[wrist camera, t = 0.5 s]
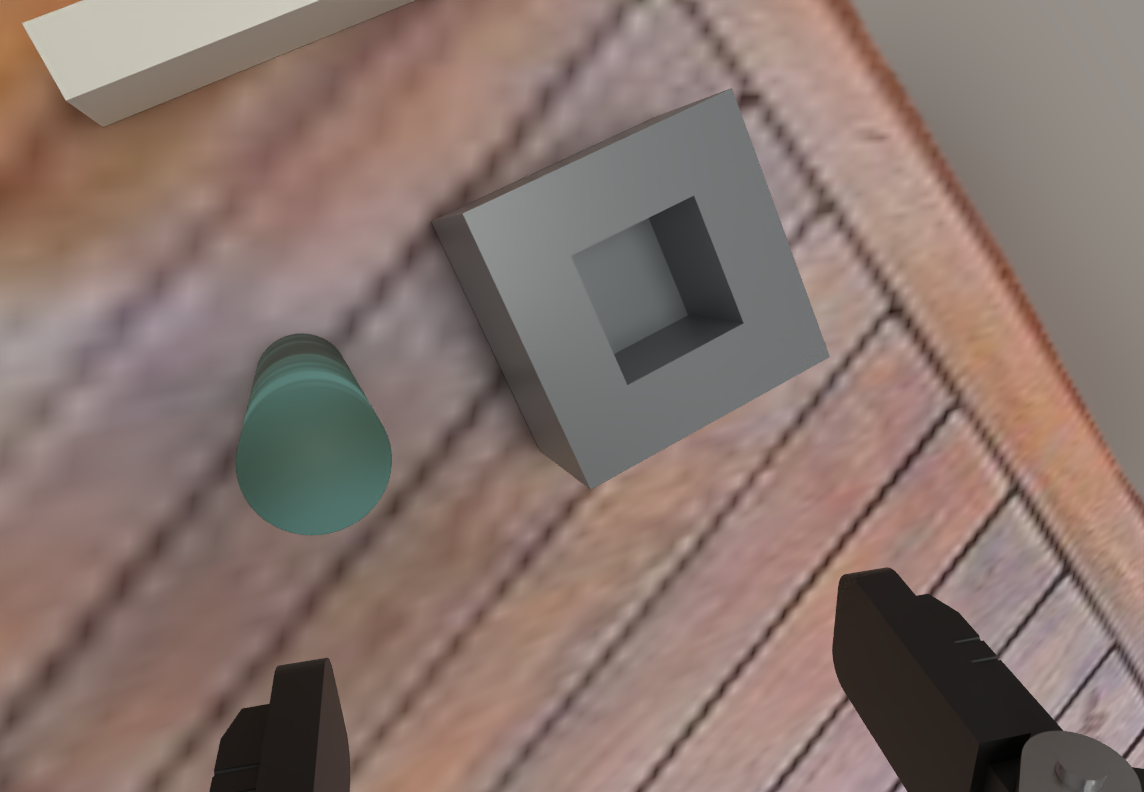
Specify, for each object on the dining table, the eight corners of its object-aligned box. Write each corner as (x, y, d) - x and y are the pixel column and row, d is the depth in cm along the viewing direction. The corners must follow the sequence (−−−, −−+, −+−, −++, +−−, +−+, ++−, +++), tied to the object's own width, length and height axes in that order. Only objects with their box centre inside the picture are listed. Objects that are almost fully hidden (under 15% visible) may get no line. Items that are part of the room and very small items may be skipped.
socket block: (430, 221, 37) (462, 213, 30) (656, 116, 39) (731, 88, 33) (540, 451, 40) (590, 489, 33) (744, 341, 42) (829, 356, 36)
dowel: (239, 358, 36) (206, 432, 21) (322, 318, 37) (349, 362, 21) (282, 436, 37) (282, 561, 22) (363, 396, 38) (416, 490, 22)
